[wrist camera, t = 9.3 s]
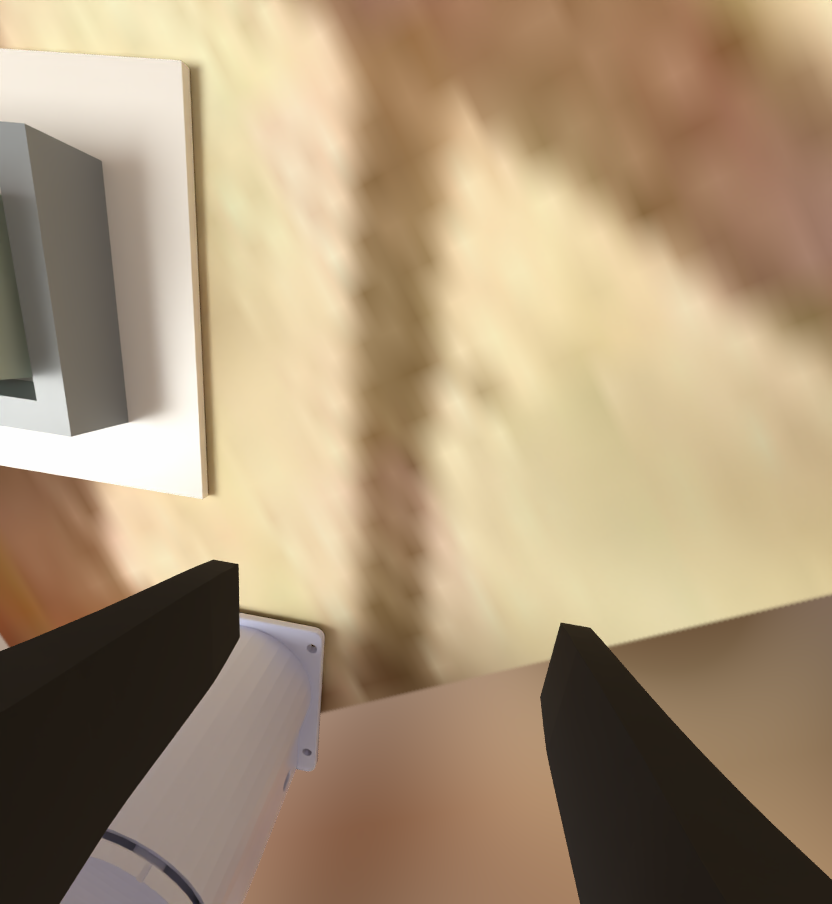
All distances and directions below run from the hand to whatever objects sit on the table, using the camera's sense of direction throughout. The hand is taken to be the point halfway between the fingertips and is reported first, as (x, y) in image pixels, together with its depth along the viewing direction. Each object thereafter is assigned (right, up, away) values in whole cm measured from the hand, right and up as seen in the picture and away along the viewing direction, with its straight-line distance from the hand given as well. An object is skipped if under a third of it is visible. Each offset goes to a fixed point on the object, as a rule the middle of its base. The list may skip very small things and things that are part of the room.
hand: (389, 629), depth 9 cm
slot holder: (-15, +11, +8) cm, 20 cm away
